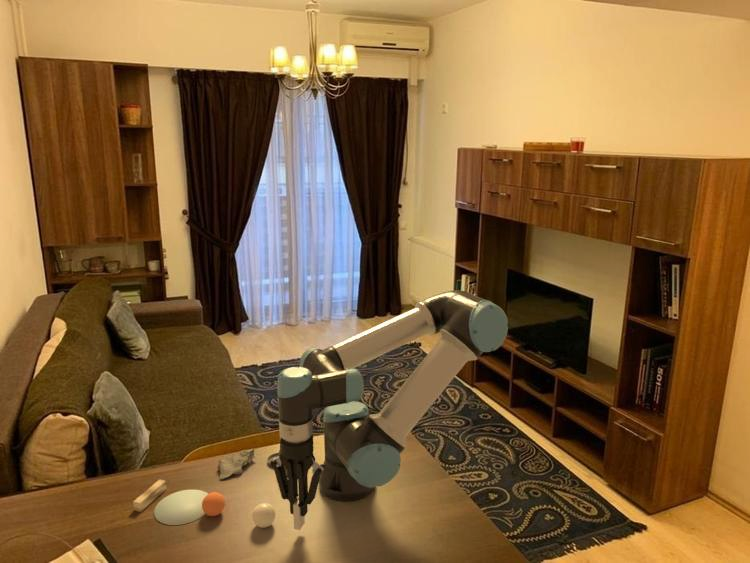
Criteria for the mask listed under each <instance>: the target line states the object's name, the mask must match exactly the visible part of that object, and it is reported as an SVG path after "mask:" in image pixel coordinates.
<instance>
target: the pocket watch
mask: <svg viewBox="0 0 750 563" xmlns="http://www.w3.org/2000/svg"><path fill="white" fill-rule="evenodd" d="M280 453H281V452H280V449H279V450H278V452H275V453H272V454H270V455H269V456H268V457H267V459H266V460H267V464H268V465H270V466H271V464H270V462H271V461H272V460H273V459H274V457H275V456H279V455H280Z"/></svg>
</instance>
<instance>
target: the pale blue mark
mask: <svg viewBox="0 0 750 563" xmlns="http://www.w3.org/2000/svg"><path fill="white" fill-rule="evenodd" d="M208 494H209V493H208V492H206V491H204V490H200V489H185V490H184V489H183V490H179V491H176V492H173V493H170V494H169V495H167V496H165V497H164V498H162V499H161V500H160V501H159V502H158V503H157V504H156V506H155V508H154V511H153V515H154V518H155V519H156V521H158V522H160V523H161V524H164V525H167V526H179V525H181V526H182V525H185V524H189V523H193V522H195V521H197V520H199V519H201V518H202V517H204V516H205V515H206V514H205V513H204V511H203V509H202V502H203V499H204V498H205V497H206V496H207V495H208Z"/></svg>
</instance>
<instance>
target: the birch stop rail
mask: <svg viewBox="0 0 750 563" xmlns="http://www.w3.org/2000/svg"><path fill="white" fill-rule="evenodd" d="M167 488H168V486H167V481H166V480H164V479H158V480H157V481H156V482H154V484H152V485H151V486H149V488H148V489H146V490H145V491H144V492H143V493H142V494H140V495H139V496H138V497H137V498H136V499H135V500H133V501H132V503H133V510H134V511H136V512H140V513H142V511H144V510H145V508H147V507H148V506H149V505H150V504H151V503H153V501H155V500H156V499H157V498H158V497H159V496H160V495H162V494H163V493H164V492H165V491H166V490H167Z"/></svg>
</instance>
